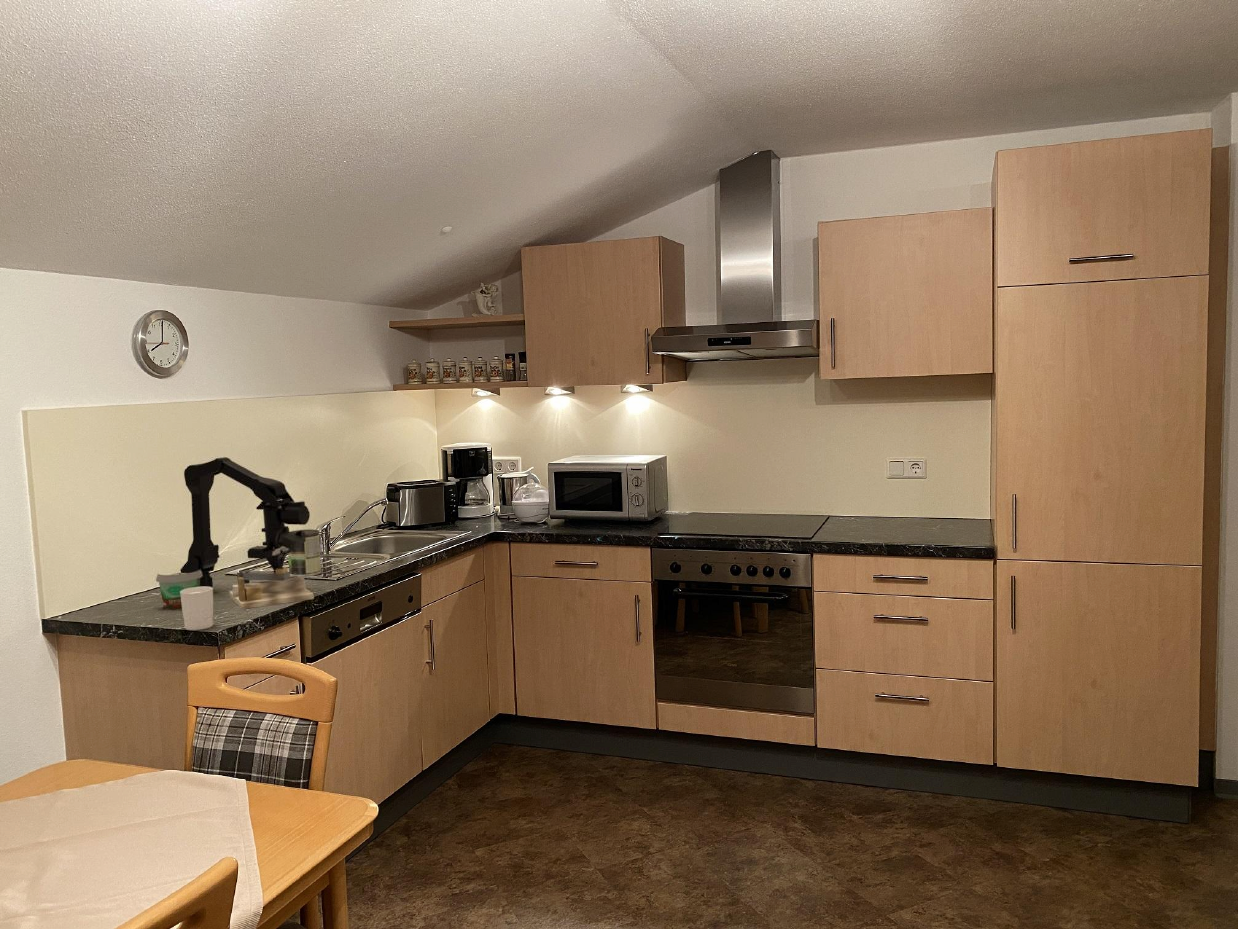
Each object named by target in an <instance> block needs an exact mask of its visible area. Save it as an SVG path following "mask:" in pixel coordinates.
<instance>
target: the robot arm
mask: <svg viewBox="0 0 1238 929" xmlns="http://www.w3.org/2000/svg"><path fill="white" fill-rule="evenodd" d="M220 474H222V475H225V476H226V477H228V478H230V479H232V480H233V481H235V482H237V483H239V484H242V486H245V487H246V488H248V489H249V490H250V491H252V493H253V494H254V496H255V497H256V498H258V499H259V500H261V501H260V503H259V504H258V505H257V506H256V507H255V509H256V510H261V511H262V512H263V513H262V514H263V522H264V524H263V526H264V527H263V528H261V533H264V535H265V536H264V537H265V538H264V540H265V541H263V542H262V545H256V546H253V547H250V548H249V549H248V550H247V552H246V553H247V558H248V559H257V560H258V559H260V560H263V559H266V561H267V562H268V563H269V565H270V566H271V568H272V571H273V572H276V570H275V569H277V568H279V567H284V563H285V560H286V557H288V554H289V553H291V551H290V550H292V551H294V550H296V549H298V548H299V549H300V548H301V546H304V542H305V541H306V540H305V538H306V537H305V532H304V531H302V530H303V529H299V530H300V531H297V532H296V533H295V532H294V533H291V531H290V528H289V525H292V526H294V525H299V526H301V525H302V526H303V525H305V526H306V525H307V524H308V522H309V520H310V516H311V514H310V511H309V508H308V507H307V506H306V503H305V501H304V500H303V501H302V500H301V501H295V500H294V499H293V497H292V496H291V495H290V493H289V492H288V490H287V489H286V485H285V483H283V482H282V481H280V480H276V479H274V478H270V477H263V476H261V475H259V474H257V473H255V472H253V471H251V470H250V469H248V468H246V467H244V466H242V465H240V464H239V463H237V462H235V461H233V460H232V459H230V457H227V456H226V457H225V456H223V457H217V458H215V459H212V460H210V461H207V462H203V463H198V464H191V465H188V466H187V467H186V468H185V469H184V471H183V476H184V478H183V479H184V483H185V486H186V487H187V489H188V491H189V493H190V495H191V496H190V497H191V519H192V542H191V545H190V547H189V549H188V554H187V561H186V562H185V563H184V564H183V566H182V567H181V568H180V570H179V571H180V573H192V572H196V571H198V570H200V571H202V575H203V576H202V577H201V578H200V587H212V588H213V589H214V584H213V577H212V576H211V572H213V571H214V570H215V566H216V564H218V561H219V558H220V557H221V556H220V555H219V553H220V552H219V550H220V546H219V544H214V542H213V540H212V535H211V533H212V532H211V514H210V513H211V510H210V505H211V504H210V493H211V492H210V491H211V490H212V487H213V485H214V482H215V476H217V475H220ZM288 549H289V550H288Z"/></svg>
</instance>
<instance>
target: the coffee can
mask: <svg viewBox="0 0 1238 929" xmlns="http://www.w3.org/2000/svg"><path fill="white" fill-rule="evenodd" d="M300 530H302V531H304V532H305V537H306V538H305V540H306V541H305V542H304V546H301V548H300V549H299V548H298V549H296V550H294V551H292V550H290V551H291V553H289V554H288V555H287V558H288V572H290V577H300V576H302V577H304V578H306V577H312V576H313V577H314V576H317V575H319V574H321V573H322V567H321V549H320V548H321V547H320V530H319V529H299V530H298V529H297V530H291V531H290V532H291V533H294V532H295V533H296V532H297V531H300ZM288 550H289V549H288Z"/></svg>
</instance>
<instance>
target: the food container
mask: <svg viewBox="0 0 1238 929" xmlns="http://www.w3.org/2000/svg"><path fill="white" fill-rule="evenodd" d="M202 576H203V575H202V571H200V570H198V571H196V572H192V573H181V572H177V573H172V574H159V573H157V575H156V576H155V577H156V578H155V581H156V583H157V582H158V585H159V589H160V595H161V601H162V605H163V609H167V610H182V604H181V595H180V591H181V590H184V589H187V588H193V587H200V578H201V577H202Z"/></svg>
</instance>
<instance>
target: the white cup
mask: <svg viewBox="0 0 1238 929" xmlns="http://www.w3.org/2000/svg"><path fill="white" fill-rule="evenodd" d="M180 595H181V604H182V609H181V610H182V618H183V620H184V622H183V623H184V629H185V630H187V631H199V630H207V629H209V628H211V627H213V626H214V587H213V588H212V587H193V588H187V589H184V590H181V591H180Z"/></svg>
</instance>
